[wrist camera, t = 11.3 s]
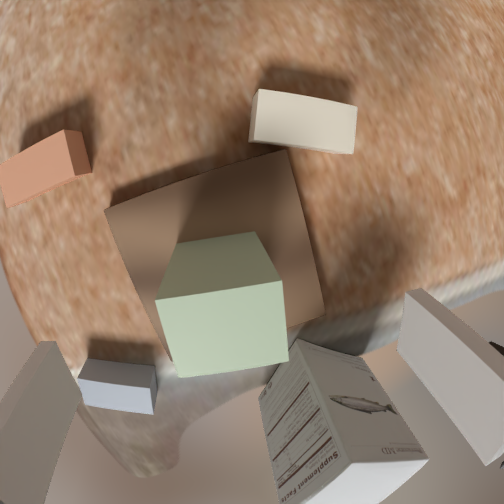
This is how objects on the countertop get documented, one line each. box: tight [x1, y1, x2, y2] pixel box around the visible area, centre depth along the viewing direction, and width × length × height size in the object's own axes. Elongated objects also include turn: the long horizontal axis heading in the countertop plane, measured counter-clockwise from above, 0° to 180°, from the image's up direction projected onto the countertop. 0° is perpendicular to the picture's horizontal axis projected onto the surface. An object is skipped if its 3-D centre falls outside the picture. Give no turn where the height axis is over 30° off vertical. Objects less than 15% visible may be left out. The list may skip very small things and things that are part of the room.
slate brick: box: [77, 358, 157, 414], centre depth 22 cm, size 6×3×3 cm, turn 85°
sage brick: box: [155, 231, 289, 378], centre depth 16 cm, size 4×5×8 cm
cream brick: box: [248, 89, 357, 154], centre depth 18 cm, size 6×3×3 cm, turn 85°
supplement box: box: [259, 339, 429, 504], centre depth 19 cm, size 7×7×13 cm
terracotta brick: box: [0, 129, 92, 208], centre depth 16 cm, size 6×3×3 cm, turn 104°
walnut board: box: [104, 149, 326, 362], centre depth 21 cm, size 12×12×1 cm
